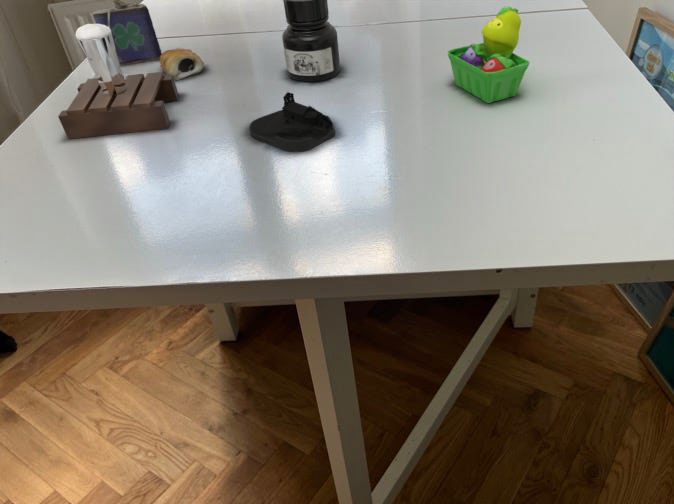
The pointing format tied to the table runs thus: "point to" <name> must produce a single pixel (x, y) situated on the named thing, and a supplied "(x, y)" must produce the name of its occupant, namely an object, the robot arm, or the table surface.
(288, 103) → the black miniature model
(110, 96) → the rack
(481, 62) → the fruit basket
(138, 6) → the flask
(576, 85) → the table surface
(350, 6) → the table surface
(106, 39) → the milkshake
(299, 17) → the ink bottle
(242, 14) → the table surface
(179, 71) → the pastry
